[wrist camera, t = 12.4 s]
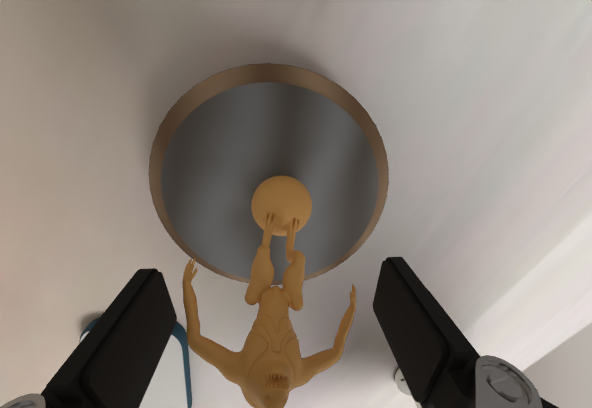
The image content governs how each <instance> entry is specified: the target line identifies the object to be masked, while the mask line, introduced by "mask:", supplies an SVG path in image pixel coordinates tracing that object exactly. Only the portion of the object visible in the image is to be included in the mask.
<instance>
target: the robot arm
mask: <svg viewBox="0 0 592 408" xmlns="http://www.w3.org/2000/svg"><path fill="white" fill-rule="evenodd" d="M373 309H374V312H375V315H376V317H377V319H378V321H379V323H380V326H381V328H382V330H383V332H384V335H385V337H386V339H387V341H388V343H389V346H390V348H391V350H392V352H393V355H394V357H395V359H396V361H397V363H398V366H399V369H398V370H397V372H396V375H395V381H396V384H397V386H398V388H399V390H400V391H401V392H403V393H405V394H407V395H410V396H412V397H413V399H414V402H415V404H416V406H417V408H558V407H556V406H555V405H553V404H551V403H549V402H547V401H546V400H544V399H542V398H541V397H539V394H538V392H537V389H536V388H535V387H534V385H533V384H532V382H531V381H530V380H529V379H528V378H527V377H526V376H525V375H524V374H523V373H522V372H521V371H520V370H518V369H517V368H516V367H515V366H513V365H512V364H510V363H508V362H507V361H505V360H503V359H500V358H497V357H495V356H488V355H486V356H481V357H480V356H479V354H478V353H477V352H476V350H475V349H474V348H473V347H472V345H471V344H470V343H469V342H468V340H467V339H466V338H465V336H464V335H463V334H462V333H461V331H460V330H459V329H458V327H457V326H456V325H455V324H454V322H453V321H452V320H451V318H450V317H449V316H448V315H447V313H446V312H445V311H444V309H443V308H442V307H441V306H440V304H439V303H438V302H437V300H436V299H435V298H434V297H433V295H432V294H431V293H430V292H429V291H428V289H426V287H425V286H424V285H423V284H422V282H421V281H420V280H419V278H418V277H417V276H416V275H415V273H414V272H413V271H412V269H411V268H410V267H409V265H408V264H407V263H406V262H405V260H404V259H403V258H402V257H388V258H386V261H383V262H382V266H381V270H380V275H379V279H378V283H377V288H376V292H375V297H374V301H373ZM176 320H177V317H176V313H175V310H174V307H173V304H172V301H171V298H170V295H169V292H168V289H167V287H166V284H165V281H164V278H163V275H162V273H161V272H158V270H157V269H140V270H138V271H137V272H136V273H135V274H134V276H133V277H132V278H131V279H130V281H129V282H128V283H127V284H126V286H125V287H124V288H123V289H122V291H121V292H120V293H119V295H118V296H117V297H116V298H115V300H114V301H113V302H112V303H111V305H110V306H109V307H108V308H107V310H106V311H105V312H104V313H103V315H102V316H101V317H100V319H99V320H98V321H97V322H96V324H95V325H94V326H93V327H92V329H91V330H90V331H89V332H88V334H87V335H86V336H85V337H84V339H83V340H82V341H81V342H80V344H79V345H78V346H77V348H76V349H75V350H74V351H73V353H72V354H71V355H70V356H69V358H68V359H67V360H66V361H65V363H64V364H63V365H62V366H61V368H60V369H59V370H58V372H57V373H56V374H55V375H54V377H53V378H52V379H51V380H50V382H49V383H48V384H47V385H46V386H47V387H46V388H45V389H44V390H43V392H42V393H41V394H27V395H24V396H20V397H18V398H16V399H14V400H12V401H10V402H8V403H6V404H4V405H3V406H1V407H0V408H139V407H140V404H141V402H142V400H143V397H144V395H145V393H146V391H147V388H148V386H149V384H150V382H151V379H152V377H153V375H154V372H155V370H156V368H157V366H158V363H159V361H160V359H161V357H162V354H163V352H164V350H165V347H166V345H167V343H168V341H169V338H170V336H171V334H172V332H173V329H174V327H175V325H176Z"/></svg>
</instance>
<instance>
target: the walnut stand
mask: <svg viewBox="0 0 592 408" xmlns="http://www.w3.org/2000/svg"><path fill="white" fill-rule="evenodd" d="M274 176H289V177H292V178H295V179H297V180H298V181H300V182H301V183H302V184H303V185H304V186H305V187H306V189H307V190H308V192H309V194H310V197H311V201H312V211H311V215H310V218H309V220H308V221H307V223H306V224H305V226H304V227H303V228H302V229H300V230H299V231H297V232H296V234H295V242H294V249H293V250H296V251H301V252H302V253H303V254H304V256H305V259H306V260H305V274H304V280H307V279H310V278H314V277H316V276H318V275H321V274H323V273H326V272H327V271H329V270H331V269H333V268H335V267H336V266H338V265H339V264H341V263H342V262H344V261H345V260H347V259H348V258H349V257H350V256H351V255H352V254H354V253H355V252H356V251H357V250H358V249H359V248H360V246H361V245H362V244H363V243H364V242H365V241H366V239H367V238H368V237H369V235H370V234H371V233H372V231H373V229H374V227H375V226H376V224H377V222H378V220H379V218H380V215H381V213H382V211H383V208H384V204H385V200H386V197H387V190H388V162H387V155H386V151H385V148H384V144H383V141H382V138H381V136H380V134H379V132H378V130H377V127H376V125H375V124H374V122H373V121H372V119H371V117H370V116H369V114H368V113H367V111H366V110H365V109H364V108H363V107H362V106H361V105H360V103H359V102H358V101H357V100H356V99H355V98H354V97H353V96H352V95H350V94H349V93H348V92H347V91H346V90H344V89H343V88H342V87H341V86H339V85H337V84H336V83H334V82H332V81H331V80H329V79H327V78H326V77H323V76H321V75H319V74H316V73H314V72H312V71H309V70H306V69H302V68H298V67H294V66H290V65H281V64H270V63H268V64H251V65H245V66H241V67H236V68H231V69H228V70H226V71H223V72H221V73H218V74H215V75H213V76H211V77H209V78H207V79H206V80H204V81H202V82H201V83H199V84H197V85H195V86H194V87H193V88H192V89H191V90H189V91H188V92H187V93H186V94H185V95H183V96H182V97H181V98H180V99H179V100H178V101H177V103H176V104H175V105H174V106H173V107H172V108H171V110H170V111H169V112H168V114H167V115H166V117H165V119H164V120H163V122H162V123H161V125H160V127H159V130H158V132H157V134H156V137H155V139H154V142H153V146H152V151H151V155H150V163H149V182H150V191H151V195H152V199H153V203H154V206H155V209H156V211H157V214H158V216H159V218H160V220H161V222H162V224H163V226H164V227H165V229H166V231H167V232H168V233H169V235H170V236H171V237H172V239H173V240H174V241H175V242H176V244H177V245H178V246H179V247H180V248H181V249H182V250H183V251H184V252H185V253H186V254H188V255H189V256H190V257H191V258H192V259H195V261H196V262H198V263H199V264H201V265H202V266H204V267H206V268H208V269H209V270H211V271H213V272H215V273H217V274H220V275H222V276H225V277H227V278H230V279H234V280H237V281H241V282H246V283H250V278H251V268H252V264H253V261H254V259H255V256H256V254H257V249H258V247H259V246H261V245H262V239H263V233H264V230H263V229H262V228H261V227H260V226H259V225H258V224H257V223H256V221H255V219H254V217H253V214H252V209H251V203H252V198H253V195H254V192H255V191H256V189H257V188H258V186H259V185H260V184H261V183H262V182H264V181H265V180H267V179H269V178H271V177H274ZM286 240H287V236H276V235H272V237H271V242H270V246H269V248H270V260H271V262H272V265H273V267H274V278H273V281H272V283H271V285H280V284H283V274H284V271H285V269H286V268H287V267H288V266H289V265H290V264H291V263H290V262H288V261H287V259H286ZM304 280H303V281H304Z"/></svg>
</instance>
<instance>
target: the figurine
mask: <svg viewBox="0 0 592 408" xmlns="http://www.w3.org/2000/svg"><path fill="white" fill-rule="evenodd" d="M251 209H252V214H253V217H254V219H255V221H256V223H257V224H258V225H259V226H260V227H261V228H262V229H263V230H264V233H263V239H262V245H261V246H259V247H258V249H257V254H256V256H255V259H254V261H253V264H252V268H251V278H250V283H249V286H248V289H247V292H246V295H245V301H246V302H247V303H248V304H249V305H254V304H256V303H257V302H258V303H259V311H258V314H257V318H256V320H255V321H254V323H253V326H252V329H251V331H250V332H249V335H248V336H247V338H246V341H245V344H244V347H243V349H242V350H241V351H240V352H232V351H230V350H228V349H227V348H225V347H223V346H221V345H219V344H217V343H216V342H214V341H212V340H210V339H208V338H205V337H203V336H201V335H200V322H199V318H198V309H197V300H196V296H195V293H194V290H193V288H192V285H191V280H192V279H193V277H194V276H195V274H196V272H197V268H196V269H195V270H194V272H193V273H192V271H193V267H194V263H195V259H194V260H193V262H192V264H191V261H192V259H191V260H190V261H189V262H188V264H187V266H186V268H185V271H184V276H183V301H184V307H185V313H186V319H187V342H188V345H189V346H190V348H191V349H192V350H193V351H194V352H195V353H196V354H197V355H199V356H200V357H201V358H203V359H204V360H205V361H207V362H208V363H210V364H212V365H213V366H215V367H216V368H217V369H218V370H219V371H220V372H221V373H222V374H223V375H224V377H225V378H227V379H228V380H229V381H231V382H233V383H236V384H238V385H239V386H240V387H241V390H242V392H243V395H244V397H245V399H246V400H247V402H248V403H249V404H250V405H251V406H252V407H254V408H283V407H284V406H285V404H286V402H287V399H288V395H289V392H290V391H291V390H292V389H294V388H296V387H298V386H301V385H304V384H305V383H307V382H308V381H309V380H310V379H311V378H312V377H313V376H314V375H316V374H317V373H319V372H322V371H324V370H326V369H327V368H329V367H330V366H332V365H333V364H335V363H336V362H337V361H338V360H339V359H340V357H341V356H342V353H343V349H344V344H345V339H346V336H347V334H348V332H349V329H350V327H351V325H352V322H353V317H354V313H355V309H356V289H355V286H354V285H353V284H352V293H351V292H350V301H351V304H350V307H349V308H348V310H347V311H346V313H345V315H344V316H343V319H342V321H341V324H340V327H339V330H338V333H337V335H336V337H335V341H334V347H333V348H332V349H329V350H325V351H322V352H319V353H317V354H314V355H312V356H309V357H307V358H301V355H300V350H299V342H298V339H297V336H296V334H295V332H294V330H293V328H292V324H291V321H290V320H289V313H288V307H291V308H292V309H293V310H295V311H299V310H301V309H302V307H303V299H302V285H303V280H304V274H305V260H306V259H305V256H304V254H303V253H302V252H301V251H296V250H293V249H294V242H295V234H296V232H297V231H299V230H300V229H302V228H303V227H304V226H305V224H306V223H307V221H308V220H309V218H310V215H311V211H312V201H311V197H310V194H309V192H308V190H307V189H306V187H305V186H304V185H303V184H302V183H301V182H300V181H298V180H297V179H295V178H292V177H289V176H274V177H271V178H269V179H267V180H265V181H264V182H262V183H261V184H260V185H259V186H258V188H257V189H256V191H255V192H254V195H253V198H252V203H251ZM272 235H276V236H287V240H286V259H287V261H288V262H290V263H291V264H290V265H289V266H288V267H287V268H286V269H285V271H284V274H283V289H280V288H279V287H278V286H274V287H272V288H270V286H271V283H272V281H273V278H274V267H273V265H272V262H271V260H270V248H269V246H270V242H271V237H272Z"/></svg>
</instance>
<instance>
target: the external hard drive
mask: <svg viewBox="0 0 592 408" xmlns="http://www.w3.org/2000/svg"><path fill="white" fill-rule="evenodd" d="M99 319H100V318H98V319H95V320H94V321H92V322H91V323H90V324H89V325H88V326H87V327H86V329H85V330H84V331H83V333H82V334H81V337H80V342H81V341H82V340H83V339H84V337H85V336H86V335H87V334H88V332H89V331H90V330H91V329H92V327H93V326H94V325H95V324H96V322H97V321H98V320H99ZM191 406H192V393H191V379H190V366H189V352H188V342H187V334H186V332H185V330H184V328H183V327H182V326H181V325H180V324H179V323H177V322H176V325H175V327H174V329H173V332H172V334H171V336H170V338H169V341H168V343H167V345H166V347H165V350H164V352H163V354H162V357H161V359H160V361H159V363H158V366H157V368H156V370H155V372H154V375H153V377H152V379H151V382H150V384H149V386H148V388H147V391H146V393H145V395H144V397H143V400H142V402H141V404H140V407H139V408H191Z"/></svg>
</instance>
